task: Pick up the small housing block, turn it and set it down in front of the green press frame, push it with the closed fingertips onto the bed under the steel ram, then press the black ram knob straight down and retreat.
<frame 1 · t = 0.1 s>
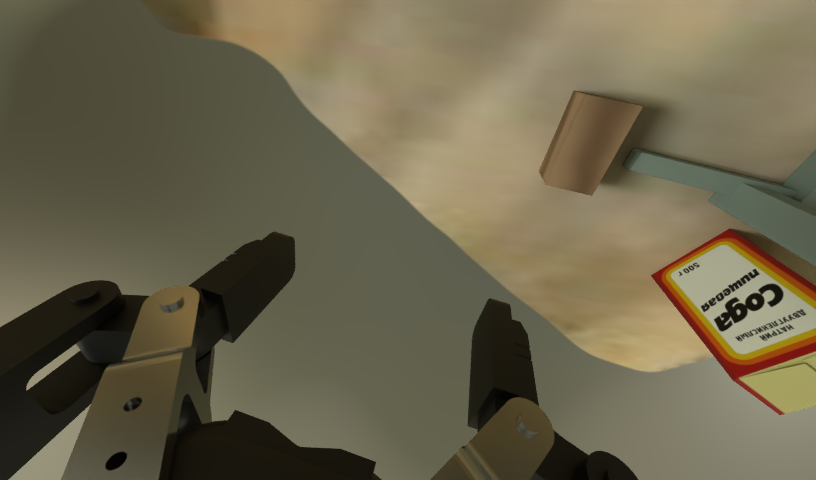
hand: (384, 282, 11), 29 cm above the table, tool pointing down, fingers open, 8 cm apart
press frame: (814, 101, 27), on the table
housing block: (576, 138, 33), on the table
baking soda box: (704, 266, 37), on the table
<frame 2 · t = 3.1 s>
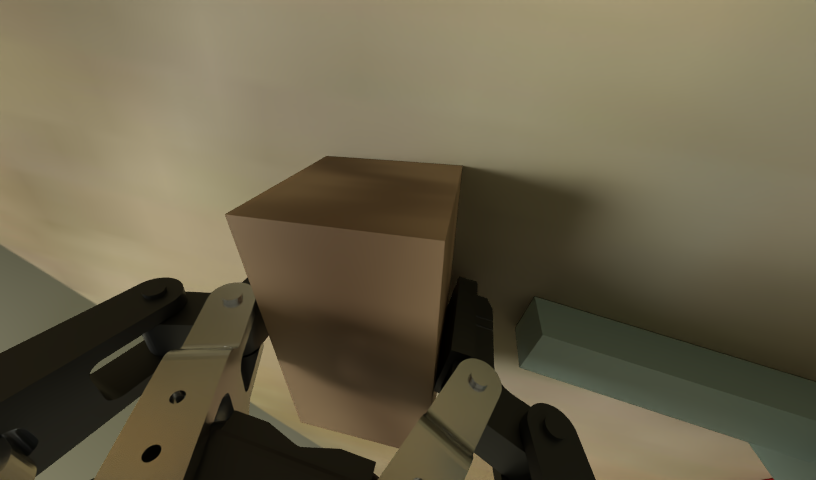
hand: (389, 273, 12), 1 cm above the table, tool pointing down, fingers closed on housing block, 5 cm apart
housing block: (394, 263, 13), on the table, touching gripper
when the fingers open (1 cm above the table, at t = 8.2 s): housing block stays where it is, on the table.
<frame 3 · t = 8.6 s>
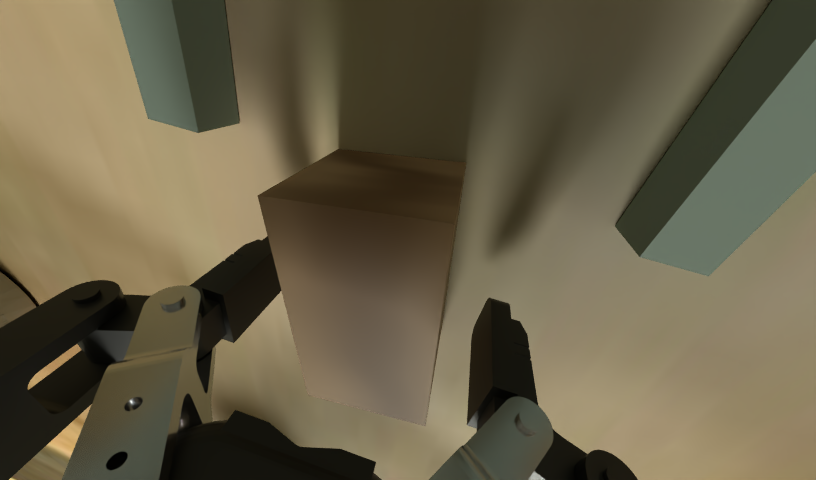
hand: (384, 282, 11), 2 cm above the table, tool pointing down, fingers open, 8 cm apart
housing block: (398, 251, 13), on the table
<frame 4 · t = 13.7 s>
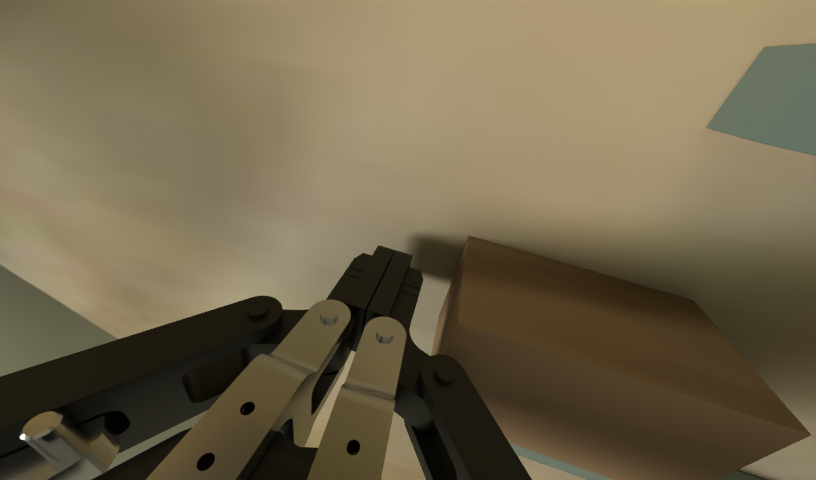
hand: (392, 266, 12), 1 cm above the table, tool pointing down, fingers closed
housing block: (548, 308, 13), on the table, touching gripper
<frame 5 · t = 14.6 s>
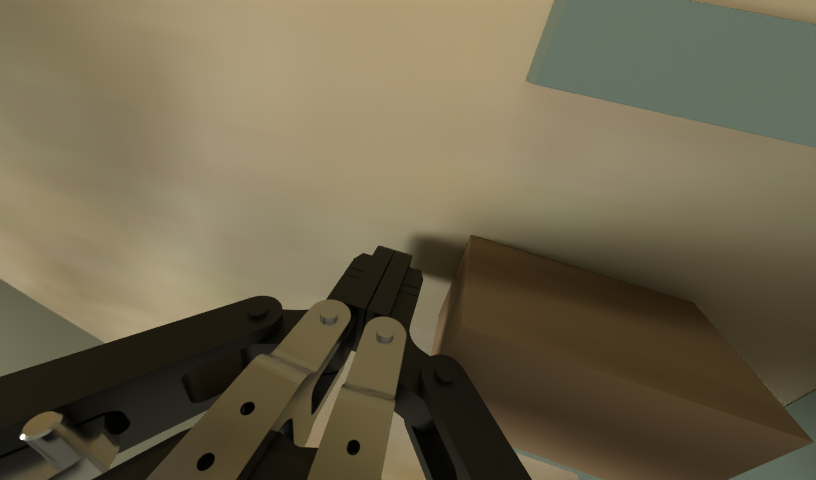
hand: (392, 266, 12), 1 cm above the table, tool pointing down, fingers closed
press frame: (742, 351, 12), on the table
housing block: (549, 309, 13), on the table, touching gripper
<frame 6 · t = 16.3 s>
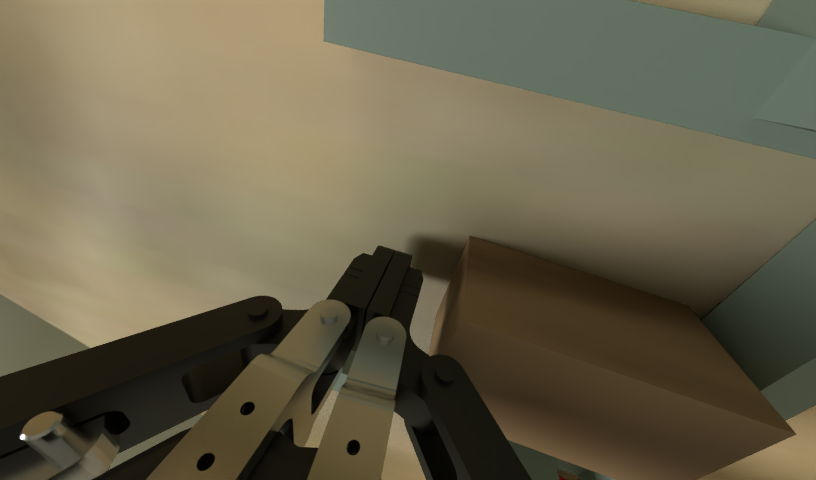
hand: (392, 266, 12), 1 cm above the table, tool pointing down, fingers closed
press frame: (597, 312, 12), on the table
housing block: (545, 307, 13), on the table
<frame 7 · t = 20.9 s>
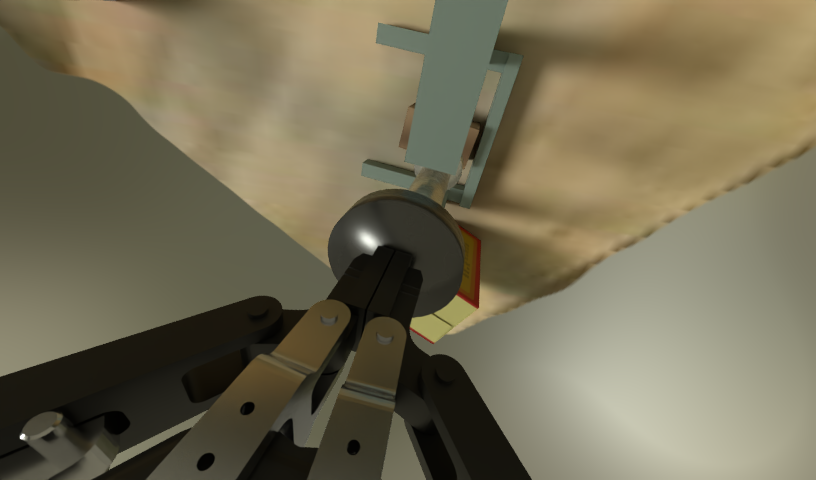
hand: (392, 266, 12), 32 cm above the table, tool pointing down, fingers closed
press frame: (456, 128, 39), on the table
ram: (425, 196, 19), point 24 cm above the table, slide at 0.7 cm, touching gripper
housing block: (442, 131, 40), on the table
baking soda box: (447, 247, 50), on the table
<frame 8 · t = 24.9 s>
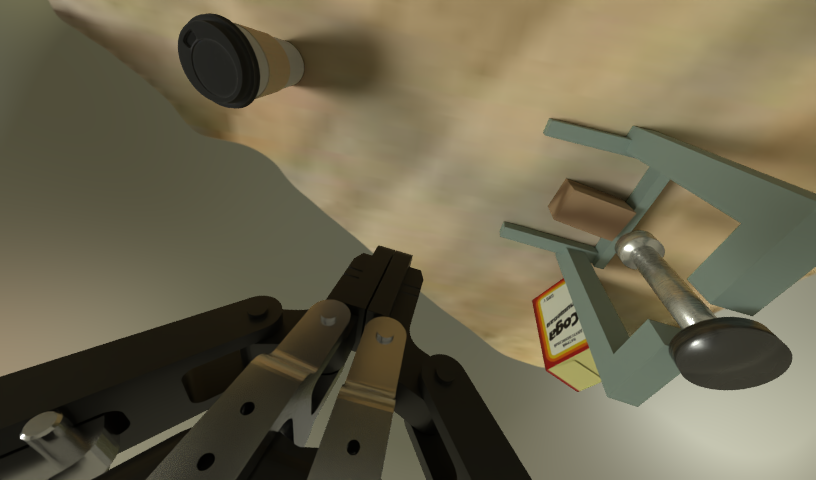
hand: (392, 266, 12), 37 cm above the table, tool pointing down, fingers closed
press frame: (598, 201, 44), on the table
ram: (671, 289, 27), point 21 cm above the table, slide at 4.1 cm
coffee cup: (287, 64, 45), on the table
housing block: (583, 202, 45), on the table
baking soda box: (564, 295, 55), on the table
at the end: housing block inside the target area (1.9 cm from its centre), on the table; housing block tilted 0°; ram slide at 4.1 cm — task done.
